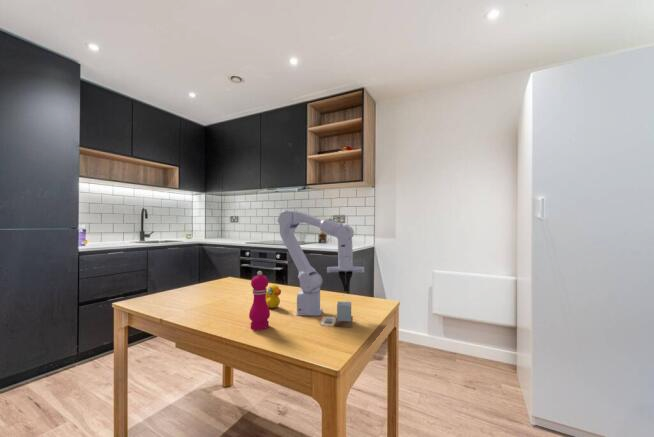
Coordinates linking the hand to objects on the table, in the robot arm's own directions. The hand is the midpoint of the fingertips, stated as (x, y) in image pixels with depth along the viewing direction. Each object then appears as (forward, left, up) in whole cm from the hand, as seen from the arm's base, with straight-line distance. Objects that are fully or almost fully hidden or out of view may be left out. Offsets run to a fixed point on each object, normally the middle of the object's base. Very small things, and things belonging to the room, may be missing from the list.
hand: (345, 290), depth 108 cm
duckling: (-32, +9, -11) cm, 35 cm away
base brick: (0, -7, -10) cm, 12 cm away
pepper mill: (-30, -13, -11) cm, 35 cm away
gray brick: (0, -7, -8) cm, 11 cm away
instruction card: (-6, -5, -10) cm, 13 cm away
